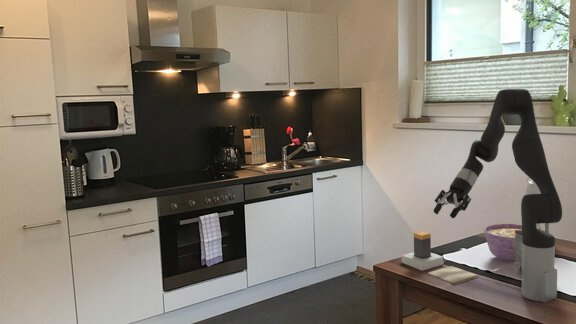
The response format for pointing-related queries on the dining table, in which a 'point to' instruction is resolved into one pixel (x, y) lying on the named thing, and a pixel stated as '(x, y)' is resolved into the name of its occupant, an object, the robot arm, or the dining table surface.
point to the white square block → (422, 261)
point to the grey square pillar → (422, 244)
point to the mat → (453, 275)
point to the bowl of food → (502, 240)
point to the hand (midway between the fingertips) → (443, 215)
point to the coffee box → (519, 252)
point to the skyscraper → (534, 189)
